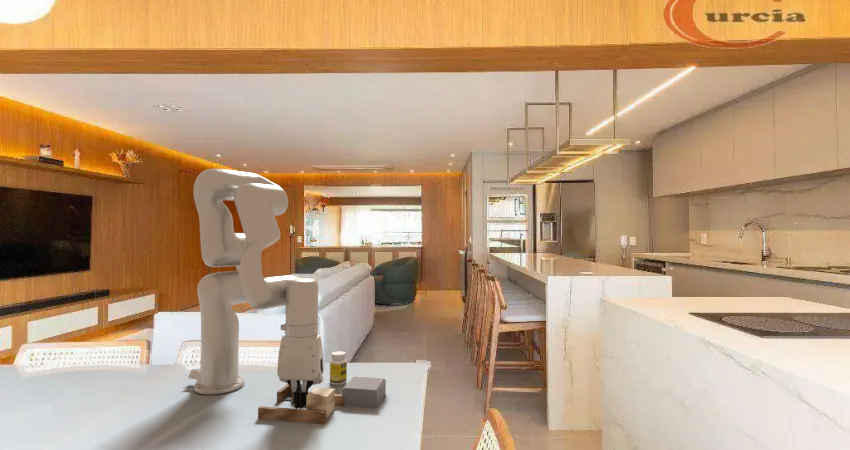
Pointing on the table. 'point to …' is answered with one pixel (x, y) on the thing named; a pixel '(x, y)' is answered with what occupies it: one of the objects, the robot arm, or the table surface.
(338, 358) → the supplement bottle
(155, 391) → the table surface
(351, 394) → the stand
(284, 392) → the channel
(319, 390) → the block
